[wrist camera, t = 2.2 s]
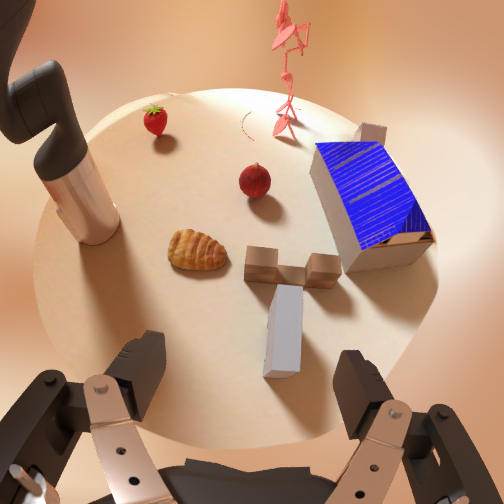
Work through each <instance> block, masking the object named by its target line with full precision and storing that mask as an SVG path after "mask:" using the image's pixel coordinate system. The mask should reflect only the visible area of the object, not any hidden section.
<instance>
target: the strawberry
mask: <svg viewBox="0 0 504 504" xmlns="http://www.w3.org/2000/svg"><path fill="white" fill-rule="evenodd" d="M151 105H152V104H151ZM153 106H154V105H153ZM157 106H158V105H157ZM157 106H154V109H150V108H149V109H147V110H143V111H148V112H147V113H146V115H145V116H144V125H145V127H146V128H147V130H148V131H150V132H151V133H153V134H155V135H157V136H161V135H162V132H163V131H164V129H165V126H166V124H167V113H166V111H165V110H164V109H162V108H163V107H157Z"/></svg>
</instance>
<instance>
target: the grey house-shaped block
mask: <svg viewBox="0 0 504 504" xmlns="http://www.w3.org/2000/svg"><path fill="white" fill-rule="evenodd" d="M386 131H387V127H385V126H380V125H376V124H371V123H365V122H362V124H361V126H360V127H359V128H358V129H357V131H356V132H355V135H354V138H353V141H352V142H357V141H379V142H380V143H381V144H382V146H383V147H384V144H385V137H386Z"/></svg>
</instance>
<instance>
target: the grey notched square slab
mask: <svg viewBox="0 0 504 504" xmlns="http://www.w3.org/2000/svg"><path fill="white" fill-rule="evenodd" d="M302 311H303V287H302V286H291V285H281V284H278V285H277V288H276V291H275V294H274V297H273V300H272V303H271V306H270V309H269V312H268V325H267V327H268V338H267V350H266V359H265V360H264V371H263V377H270V378H286V377H289V376H291V375H293V374H295V373H298V372H300V360H301V339H302Z"/></svg>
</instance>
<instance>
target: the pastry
mask: <svg viewBox="0 0 504 504" xmlns="http://www.w3.org/2000/svg"><path fill="white" fill-rule="evenodd" d="M226 255H227V252H226V250H225V248H224V246H222V245H220V244H219V243H218V242H217V241H216V240H213V239H212V238H211V237H210V236H206V235H205V234H204V233H200V232H194V230H192V229H187V230H186V231H183V230H180V231H176V232H175V233H174V235H173V237H172V239H171V240H170V245H169V248H168V260H169V261H170V262H171V263H172V264H174V265H175V266H177V267H179V268H182V269H185V270H214V269H217V268H220V267H221V266H223V265H224V263H225V260H226Z"/></svg>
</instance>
